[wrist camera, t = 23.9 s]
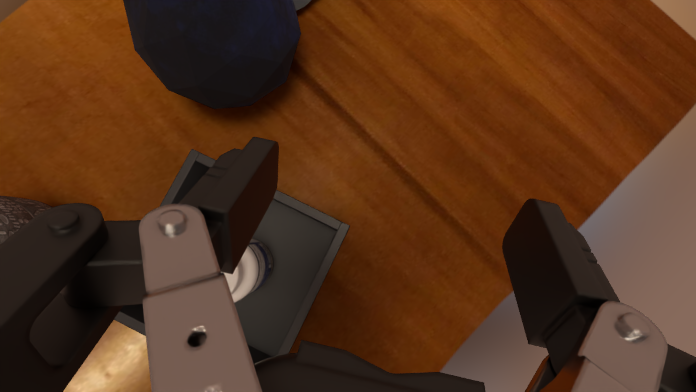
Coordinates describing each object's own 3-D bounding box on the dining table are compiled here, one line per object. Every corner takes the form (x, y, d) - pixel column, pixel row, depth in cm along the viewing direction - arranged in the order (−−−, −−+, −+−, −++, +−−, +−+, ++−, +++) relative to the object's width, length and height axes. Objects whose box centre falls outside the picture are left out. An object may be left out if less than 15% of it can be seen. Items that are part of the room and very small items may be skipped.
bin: (348, 228, 36) (350, 225, 30) (281, 367, 35) (266, 398, 28) (219, 164, 37) (191, 148, 30) (146, 298, 35) (100, 312, 29)
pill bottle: (212, 281, 35) (162, 297, 25) (232, 230, 35) (190, 228, 26) (262, 299, 35) (231, 322, 25) (281, 248, 35) (257, 251, 26)
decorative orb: (164, -65, 34) (43, -102, 21) (313, -52, 34) (282, -80, 21) (187, 81, 42) (107, 120, 29) (310, 92, 42) (286, 135, 29)
